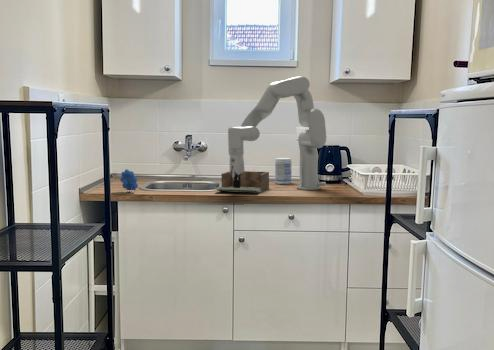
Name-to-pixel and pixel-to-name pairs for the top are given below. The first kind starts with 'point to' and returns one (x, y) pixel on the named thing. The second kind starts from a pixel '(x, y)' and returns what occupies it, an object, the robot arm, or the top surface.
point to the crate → (248, 180)
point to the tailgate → (237, 189)
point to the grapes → (129, 180)
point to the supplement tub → (283, 170)
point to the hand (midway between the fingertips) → (237, 187)
